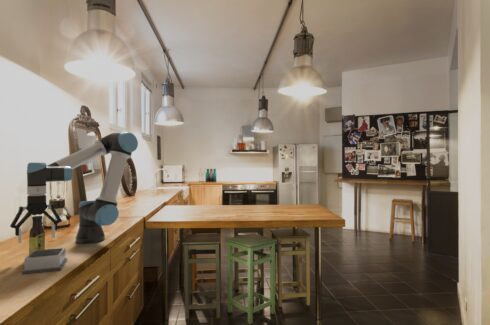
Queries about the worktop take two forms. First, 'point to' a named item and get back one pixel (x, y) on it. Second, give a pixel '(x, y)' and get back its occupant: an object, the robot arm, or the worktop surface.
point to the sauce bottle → (37, 235)
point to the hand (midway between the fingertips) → (37, 239)
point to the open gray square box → (45, 260)
